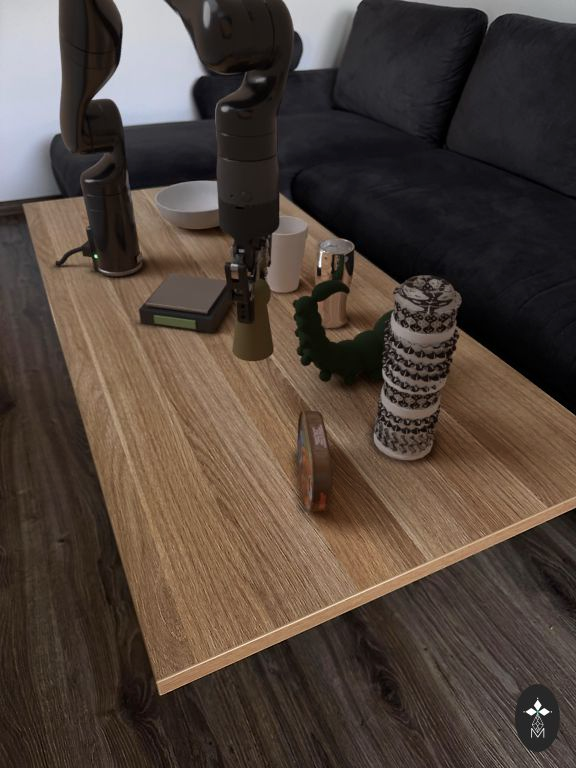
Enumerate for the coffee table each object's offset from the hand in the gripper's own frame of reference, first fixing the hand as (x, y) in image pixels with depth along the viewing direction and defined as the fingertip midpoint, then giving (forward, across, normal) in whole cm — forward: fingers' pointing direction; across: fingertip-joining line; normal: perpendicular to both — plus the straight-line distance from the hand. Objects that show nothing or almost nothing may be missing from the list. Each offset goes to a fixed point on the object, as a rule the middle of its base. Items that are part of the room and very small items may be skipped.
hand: (251, 311), depth 82 cm
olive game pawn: (+7, 0, 0) cm, 7 cm away
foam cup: (+17, -38, -5) cm, 42 cm away
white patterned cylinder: (+16, +3, +23) cm, 29 cm away
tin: (+16, +14, +12) cm, 25 cm away
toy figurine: (+17, -12, +16) cm, 26 cm away
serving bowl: (+17, -65, -33) cm, 75 cm away
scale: (+17, -24, -20) cm, 35 cm away
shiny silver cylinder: (+17, -27, +7) cm, 32 cm away
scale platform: (+13, -24, -20) cm, 34 cm away
